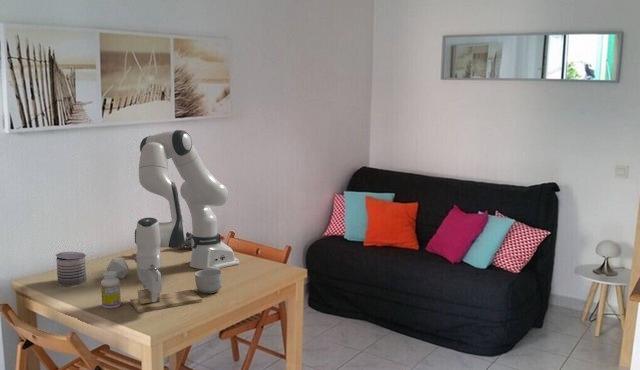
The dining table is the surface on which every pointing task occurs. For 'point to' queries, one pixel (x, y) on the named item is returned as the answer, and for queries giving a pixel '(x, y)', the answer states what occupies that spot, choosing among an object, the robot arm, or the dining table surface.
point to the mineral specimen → (187, 241)
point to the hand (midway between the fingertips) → (150, 297)
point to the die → (118, 267)
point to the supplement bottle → (110, 290)
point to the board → (168, 301)
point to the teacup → (208, 280)
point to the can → (71, 268)
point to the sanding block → (146, 297)
